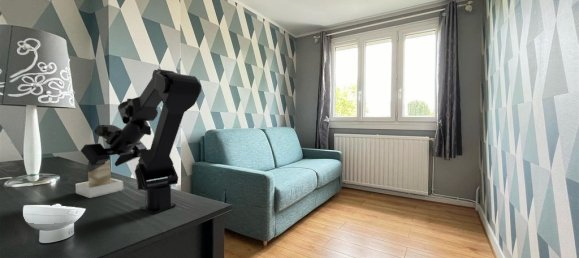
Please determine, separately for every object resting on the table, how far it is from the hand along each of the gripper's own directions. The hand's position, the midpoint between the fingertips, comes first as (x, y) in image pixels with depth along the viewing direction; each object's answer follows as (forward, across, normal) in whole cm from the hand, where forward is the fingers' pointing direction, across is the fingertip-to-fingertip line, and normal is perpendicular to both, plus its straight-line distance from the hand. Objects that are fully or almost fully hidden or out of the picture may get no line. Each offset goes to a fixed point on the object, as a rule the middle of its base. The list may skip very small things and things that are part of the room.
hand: (102, 167), depth 77 cm
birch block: (+6, 0, +4) cm, 7 cm away
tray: (+7, 0, +4) cm, 8 cm away
